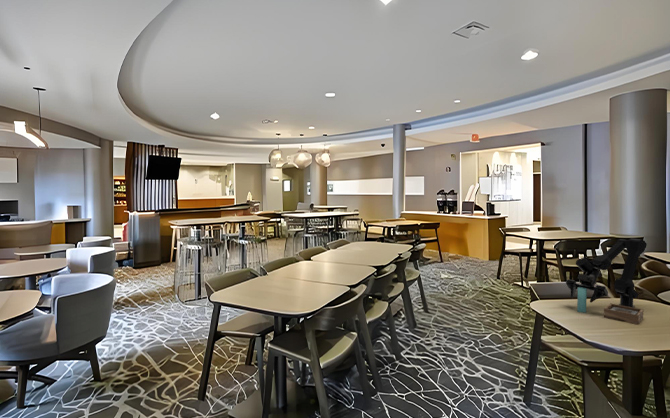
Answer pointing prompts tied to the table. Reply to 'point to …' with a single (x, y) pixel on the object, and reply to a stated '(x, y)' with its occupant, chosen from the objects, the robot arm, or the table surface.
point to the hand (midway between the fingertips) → (580, 299)
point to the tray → (623, 313)
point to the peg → (582, 299)
